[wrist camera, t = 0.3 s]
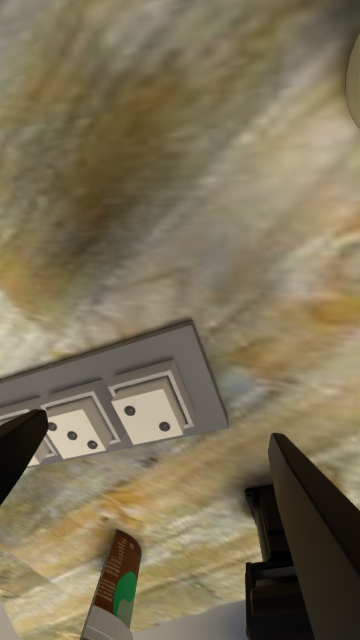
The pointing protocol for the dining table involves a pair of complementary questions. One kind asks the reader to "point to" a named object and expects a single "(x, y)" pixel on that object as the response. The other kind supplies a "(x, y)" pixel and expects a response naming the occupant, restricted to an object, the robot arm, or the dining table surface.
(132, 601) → the food container
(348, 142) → the dining table surface
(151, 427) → the tile two dots
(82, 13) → the dining table surface
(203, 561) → the dining table surface
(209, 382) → the button panel
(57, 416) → the tile three dots
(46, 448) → the tile one dot
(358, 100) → the reusable coffee cup
